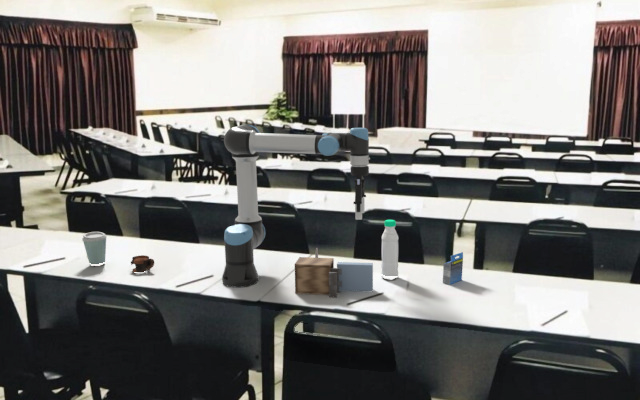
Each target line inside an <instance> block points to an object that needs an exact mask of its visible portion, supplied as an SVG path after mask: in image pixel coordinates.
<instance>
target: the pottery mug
mask: <svg viewBox="0 0 640 400" xmlns="http://www.w3.org/2000/svg"><path fill="white" fill-rule="evenodd" d="M130 265H131V266H132V265H135V268H132V273H133V272H144V271H146V272H147V271H148V270H149V271H151V269H152V268H153V267H154V266H155V260H154V259H153V258H150V256H148V255H142V254H141V255H136V256H133V257H131V261H130Z"/></svg>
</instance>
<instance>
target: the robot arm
mask: <svg viewBox="0 0 640 400" xmlns="http://www.w3.org/2000/svg"><path fill="white" fill-rule="evenodd" d="M223 143H224V147H225V149H226V150H227V151H228V152H229V153H231V158H232V159H233V160H234V162H235V171H236V191H237V211H238V212H237V213H238V215H237V217H235V219H234V223H235V224H233V225H231V226H227V228H226V229H225V230H224V237H223V239H224V254H225V255H224V257H225V266H224V270H223V273H222V277H221V278H222V279H221V280H222V281H221V283H222V282H223V283H222V284H223V285H224V284H225V286H226V285H228V286H227V287H231V286H236V287H235V288H242V287H241V286H244V287H249V286H253V285H255V284H257V283H258V282H259V273H258V271H257V269H256V265H255V262H254V250H255V249H256V248H257V247H259V246H260V245H261V244H262V243H263V242H264V239H265V237H266V228H265V226H264V224H263V219H262V216H260V215H259V207H258V206H259V203H258V202H259V201H258V179H257V178H258V177H257V160H258V158H259V157H260V153H282V154H283V153H284V154H308V155H309V154H311V155H323V156H325V157H326V156H327V157H328V156H334V155H335V154H336V153H338V152H349V154H350V158H349V161H350V162H349V163H350V175H351V176H355V179H354V201H353V205H354V207H355V209H354V210H355V214H354V215H355V220H357V221H358V220H360V221H361V220H363V214H365V198H367V195H366V193H365V183H366V180H365V177H367V176H368V175H369V174H370V168H369V166H368V165H370V162H369V160H371V157H370V155H369V153H370V152H369V150H370V146H369V145H370V144H369V143H370V138H369V130H368V128H366V127H352V128H350V130H349V132H324V133H322V135H321V134H319V135H318V134H294V133H271V132H270V133H268V132H267V133H266V132H260V130H259V129H258V128H257V127H256V126H255V125H251V124H241V125H237V126H233V127H231V128H229V129H228V130H227V131H226V132H225V135H224V137H223Z"/></svg>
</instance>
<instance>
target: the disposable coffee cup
mask: <svg viewBox="0 0 640 400" xmlns="http://www.w3.org/2000/svg"><path fill="white" fill-rule="evenodd" d="M82 242H83V246H84V249H85V253H86V256H87V260H88V263H91V264H99V263H103V262H106V251H107V250H106V249H107V235H106V233H104V232H101V231H91V232H86V233H84V234H83V236H82Z"/></svg>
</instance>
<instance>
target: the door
mask: <svg viewBox="0 0 640 400" xmlns="http://www.w3.org/2000/svg"><path fill="white" fill-rule="evenodd" d="M336 268H339V292H340V291H341V292H363V291H372V290H374V277H373V276H374V264H373V262H353V261H352V262H348V261H347V262H345V261H337V263H336ZM372 292H373V291H372Z"/></svg>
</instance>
